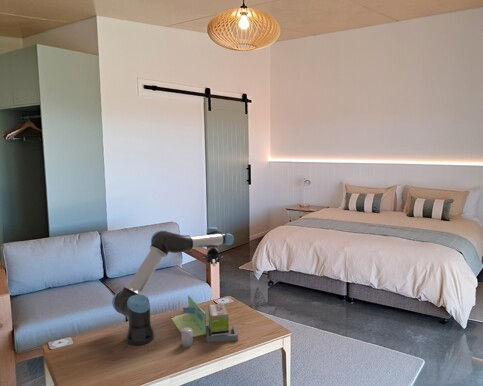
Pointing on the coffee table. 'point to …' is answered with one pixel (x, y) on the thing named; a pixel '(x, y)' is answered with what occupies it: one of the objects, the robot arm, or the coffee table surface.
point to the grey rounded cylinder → (187, 337)
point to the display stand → (192, 318)
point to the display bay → (222, 336)
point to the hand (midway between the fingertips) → (214, 264)
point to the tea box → (218, 319)
